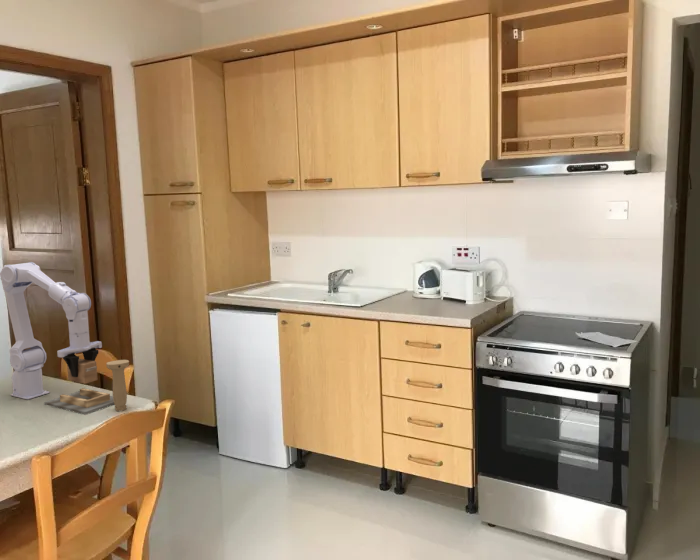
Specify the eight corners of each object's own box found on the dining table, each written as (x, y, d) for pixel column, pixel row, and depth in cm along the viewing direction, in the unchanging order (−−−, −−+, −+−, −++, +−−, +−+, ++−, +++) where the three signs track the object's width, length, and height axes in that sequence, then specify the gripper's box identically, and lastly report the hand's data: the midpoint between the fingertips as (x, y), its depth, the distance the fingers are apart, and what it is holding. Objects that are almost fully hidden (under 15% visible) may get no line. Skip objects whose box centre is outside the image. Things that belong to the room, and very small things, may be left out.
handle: (108, 409, 189) (105, 362, 187) (129, 405, 192) (126, 359, 190) (111, 414, 185) (108, 365, 183) (133, 410, 188) (130, 362, 186)
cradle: (44, 404, 195) (43, 395, 194) (83, 392, 207) (82, 384, 206) (85, 414, 185) (84, 405, 184) (123, 401, 197) (122, 392, 196)
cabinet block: (68, 380, 195) (66, 361, 194) (80, 376, 199) (79, 358, 198) (86, 384, 190) (85, 365, 190) (99, 380, 194) (97, 361, 194)
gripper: (66, 338, 185) (69, 382, 186) (106, 329, 197) (109, 370, 199) (51, 336, 188) (55, 379, 190) (92, 327, 201) (95, 367, 202)
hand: (82, 374), depth 195 cm, fingers closed on cabinet block, 5 cm apart
